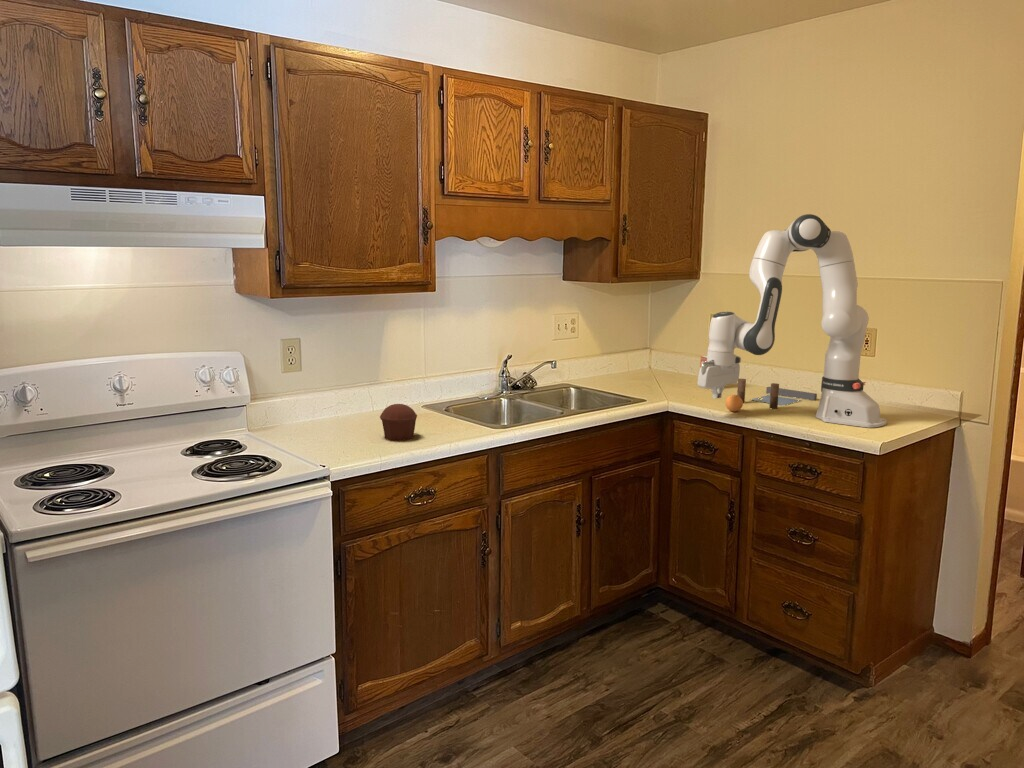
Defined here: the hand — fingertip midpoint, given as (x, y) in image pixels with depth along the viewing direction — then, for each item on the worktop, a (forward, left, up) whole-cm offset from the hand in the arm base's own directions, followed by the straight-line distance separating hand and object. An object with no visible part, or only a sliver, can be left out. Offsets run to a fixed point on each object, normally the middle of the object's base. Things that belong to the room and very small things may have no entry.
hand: (716, 398), depth 270 cm
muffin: (+47, +101, -6) cm, 112 cm away
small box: (+31, -45, -6) cm, 55 cm away
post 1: (+6, -26, -6) cm, 27 cm away
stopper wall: (-1, -52, -6) cm, 52 cm away
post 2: (-8, -26, -6) cm, 27 cm away
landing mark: (-1, -40, -6) cm, 40 cm away
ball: (-1, -10, -3) cm, 10 cm away
